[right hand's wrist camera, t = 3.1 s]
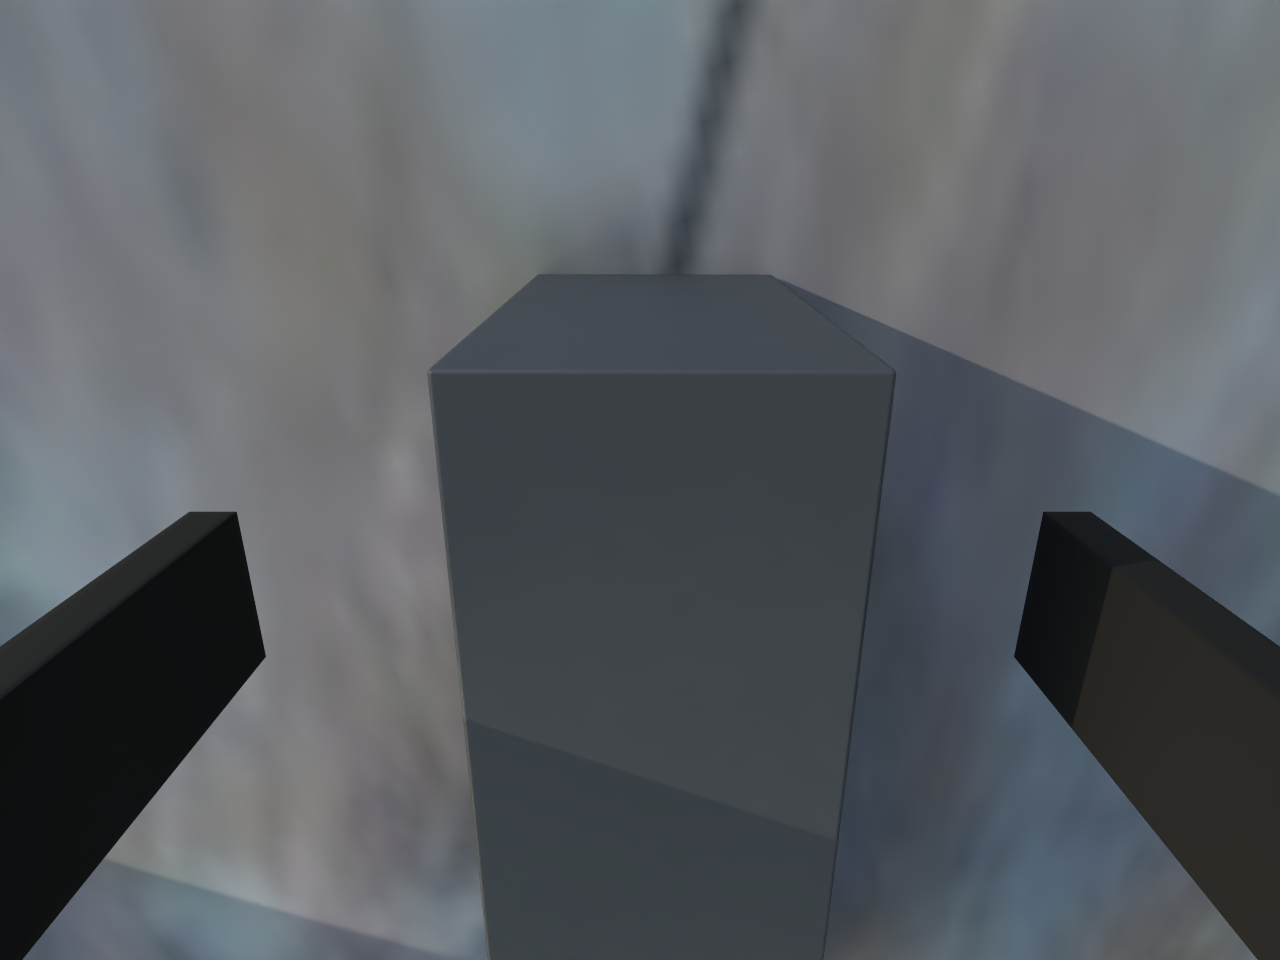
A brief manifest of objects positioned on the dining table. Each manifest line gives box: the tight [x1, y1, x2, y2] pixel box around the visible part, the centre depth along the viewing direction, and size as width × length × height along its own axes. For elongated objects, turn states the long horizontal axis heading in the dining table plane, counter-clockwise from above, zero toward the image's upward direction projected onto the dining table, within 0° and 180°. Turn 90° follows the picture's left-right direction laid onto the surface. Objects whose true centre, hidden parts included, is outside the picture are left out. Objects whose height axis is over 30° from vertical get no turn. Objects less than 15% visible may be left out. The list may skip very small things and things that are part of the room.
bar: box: [428, 275, 896, 960], centre depth 17 cm, size 23×5×9 cm, turn 0°
